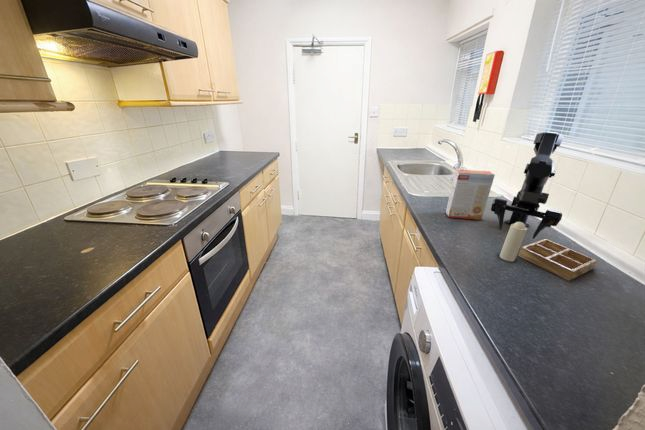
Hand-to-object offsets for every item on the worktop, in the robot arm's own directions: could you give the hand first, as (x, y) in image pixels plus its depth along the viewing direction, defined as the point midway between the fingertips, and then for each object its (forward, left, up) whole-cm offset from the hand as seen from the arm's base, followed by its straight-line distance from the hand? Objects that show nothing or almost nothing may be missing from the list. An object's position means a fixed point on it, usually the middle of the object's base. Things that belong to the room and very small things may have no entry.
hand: (516, 233), depth 87 cm
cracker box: (-14, -29, -9) cm, 33 cm away
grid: (-11, +9, -9) cm, 17 cm away
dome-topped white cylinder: (+1, +1, -9) cm, 9 cm away
